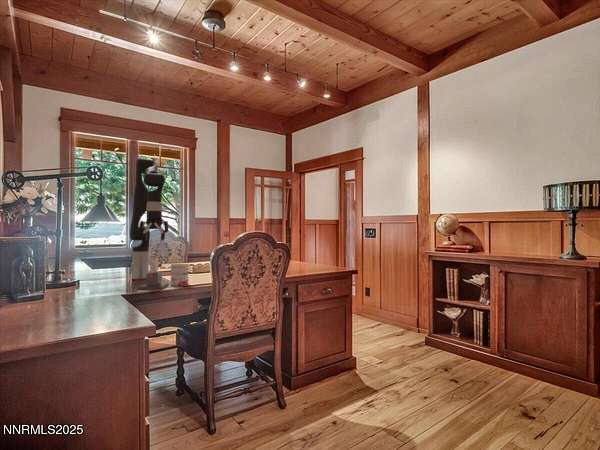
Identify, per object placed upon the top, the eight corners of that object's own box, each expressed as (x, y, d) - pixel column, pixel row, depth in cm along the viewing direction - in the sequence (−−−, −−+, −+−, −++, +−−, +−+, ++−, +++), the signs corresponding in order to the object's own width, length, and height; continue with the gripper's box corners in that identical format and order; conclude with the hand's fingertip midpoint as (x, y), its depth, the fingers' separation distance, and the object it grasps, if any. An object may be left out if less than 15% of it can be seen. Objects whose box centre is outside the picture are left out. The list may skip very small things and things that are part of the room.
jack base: (138, 289, 180) (138, 274, 180) (146, 285, 192) (146, 271, 192) (161, 289, 181) (162, 274, 181) (168, 285, 193) (168, 271, 193)
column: (149, 285, 185) (149, 255, 185) (151, 283, 188) (151, 255, 188) (156, 284, 185) (156, 255, 185) (158, 283, 188) (158, 255, 188)
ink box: (188, 284, 198) (188, 263, 198) (184, 285, 193) (185, 264, 193) (174, 283, 199) (174, 263, 199) (170, 285, 194) (170, 264, 194)
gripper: (169, 210, 191) (169, 240, 191) (143, 210, 190) (142, 240, 190) (165, 210, 184) (165, 240, 184) (138, 210, 182) (137, 240, 182)
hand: (154, 240), depth 187 cm, fingers open, 8 cm apart
